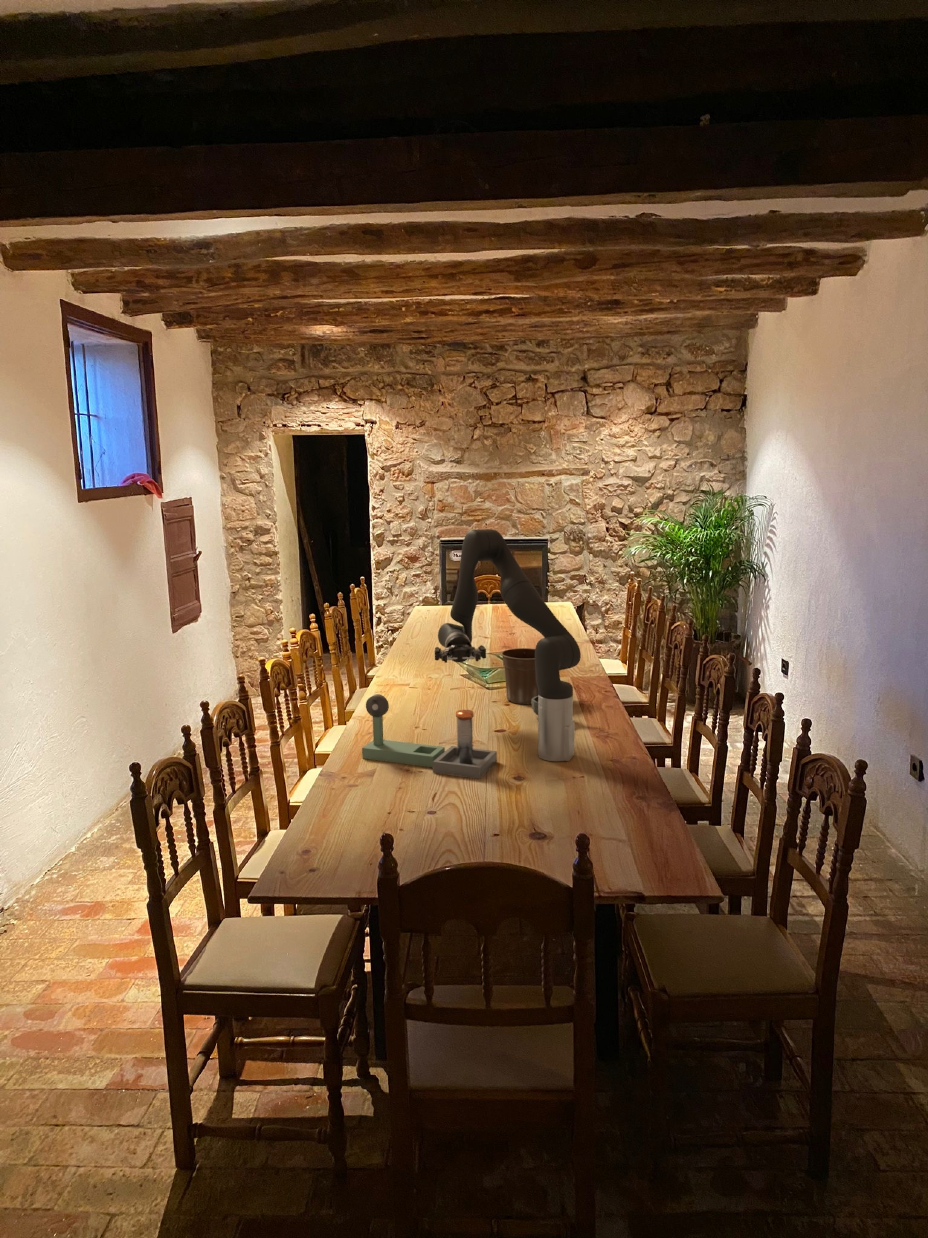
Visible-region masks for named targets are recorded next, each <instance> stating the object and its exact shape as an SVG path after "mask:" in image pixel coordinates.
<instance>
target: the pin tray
mask: <svg viewBox="0 0 928 1238" xmlns="http://www.w3.org/2000/svg"><path fill="white" fill-rule="evenodd" d="M497 762H498V751H497V750H490V749H482V748H474V747H473V764H472V765H469V764H461V763H458V751H457V745H456V746H454V745H451V746H450V747H448V749H445V752H444V753H443V754H441V755H440V756H439V757H438V758H437V759H435V760H434V761H433V767H432V773H434V774H441V775H447V776H448V775H449V776H455V777H463V778H470V779H477V780H481V778H483V777H484V776H485V775H486V774H487V772H489V770H490V769H492V767H494V765H496V764H497Z"/></svg>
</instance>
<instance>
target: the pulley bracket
mask: <svg viewBox="0 0 928 1238" xmlns="http://www.w3.org/2000/svg"><path fill="white" fill-rule="evenodd" d="M389 709H390V704H389V700H388V699H387V697H385V696H384V695H382V694H380V693H379V694H373V695H372V696H370V697H368V699H366V701H365V710H366V711H367V713H368V714H369V715H370V716H371V717H372V735H373V736H372V737H373V739H372V741H370V742H368V743H367V744H366V745H364V746H362V747H361V753H362V755H361V756H362V757H361V758H362V759H365V760H373V761H379V762H380V761H381V762H387V763H396V764H404V765H411V766H420V767H427V768H433V761H434V760H435V759H437V758H438V757H439V756H440V755H441V754H443V753H444V752H445V751H446V749H445V746H439V745H430V744H422V743H414V742H406V741H405V742H404V741H397V740H389V739H388V740H387V739H384V719H383V718H384V717H383V716H385V715H386V714H387V713H388V711H389Z"/></svg>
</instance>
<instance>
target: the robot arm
mask: <svg viewBox="0 0 928 1238" xmlns="http://www.w3.org/2000/svg"><path fill="white" fill-rule="evenodd" d="M479 562H491V563H492V564H493V565H494V566H495V568H496V570H498V573H499V575H500V581H499V582H500V584H499V592H500V597H501V598H502V601H503V602H504V603H505V605H506V606H507V608H508V609H509V611H510V613H512V615H514V617H515V618H517V619H519V620H520V621H521V622H523V623H524V624H526V625H528V626H529V627H531V628H533V629H534V630H535V631H537V632H539V634H541V635H542V638H540V639H539V640H538V641H537V643H536V645H535V648H534V649H535V671H536V683H537V687H538V694H539V695H538V715H537V718H538V721H537V722H538V730H537V732H538V733H537V738H538V741H537V743H538V744H537V746H538V747H537V750H538V751H537V752H538V754H537V755H538V757H539V758H540V759H541V760H545V761H549V762H569V761H570V760H571V759H572V758H573V756H574V755H575V729H576V728H575V727H576V725H575V723H576V722H575V720H573V717H574V714H573V709H574V707H573V705H574V703H573V702H574V687H573V685H572V684H571V683H570V682H567V681H565V680H561V676H560V671H564V670H567V669H568V670H569V669H572V668H574V667H576V666H578V665H579V663H580V662H581V654H582V653H581V649H580V646H579V644H578V641H577V640H576V639H575V637H574V636H573V635H572V634H571V632H569V630H568V629H567V628H566V627H565V626H564V624H562V623H561V620H559V619H558V618H557V617H556V616H555V614H554V613H553V612H552V610H551V609H550V608H549V606H548V605H547V604H546V602H545V601H544V599H543V598H542V596H541V594H540V593H539V592H538V591H537V589H536V587H535V586H534V585H533V583H532V582H531V580H530V579H529V578H528V577H527V575H526V574H525V573H524V571H523V569H522V567H521V566H520V565H519V563H518V562H517V560H516V558H515V557H514V555H513V553H512V551H511V550H510V547H509V545H508V544H507V542H506V541H505V539H504V537H503V535H502V534H501V533H500V532H499V531H497V530H496V529H472V530H469V531H468V532H467V533H466V534H465V535H464V539H463V542H462V547H461V554H460V562H459V572H458V581H457V587H456V591H455V594H454V595H455V596H454V599H453V603H452V605H451V608H450V612H449V613H450V618H451V620H453V621H455V622H456V623H459V624H460V625H459V624H454V623H451V622H450V623H449V622H446V623H443V624H442V625H441V626H440V627H439V630H438V632H437V638H438V643H439V644H440V645H441V646H442V647H443V648H444V649H442V648H440V647H439V646H437V647H435V648H434V661H439V660H441V662H443V663H444V664H445V663H446V664H447V663H448V661H452V662H454V663H464V662H466V661H467V660H475V662H479V661H481V660H482V659H483V660H485V659H487V648H486V647H485V646H484V645H482V644H481V645H478V647H477V648H476V647H474V646H472V641H473V618H474V615H475V611H476V609H477V605H478V602H479V601H478V599H479V591H478V587H477V584H476V580H475V571H476V567H477V565H478V563H479Z"/></svg>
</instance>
